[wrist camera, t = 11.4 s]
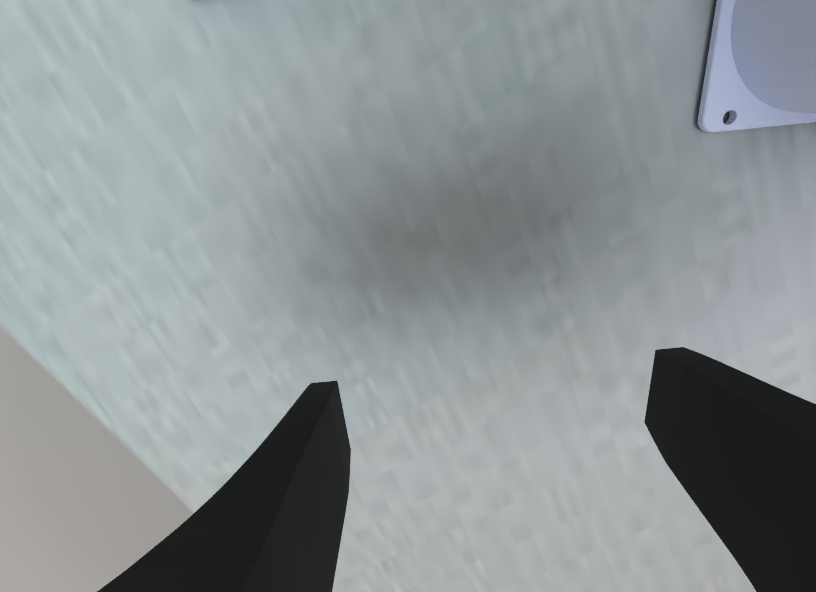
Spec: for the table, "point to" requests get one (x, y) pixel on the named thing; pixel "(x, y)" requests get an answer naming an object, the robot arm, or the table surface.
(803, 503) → the robot arm
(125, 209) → the table surface
